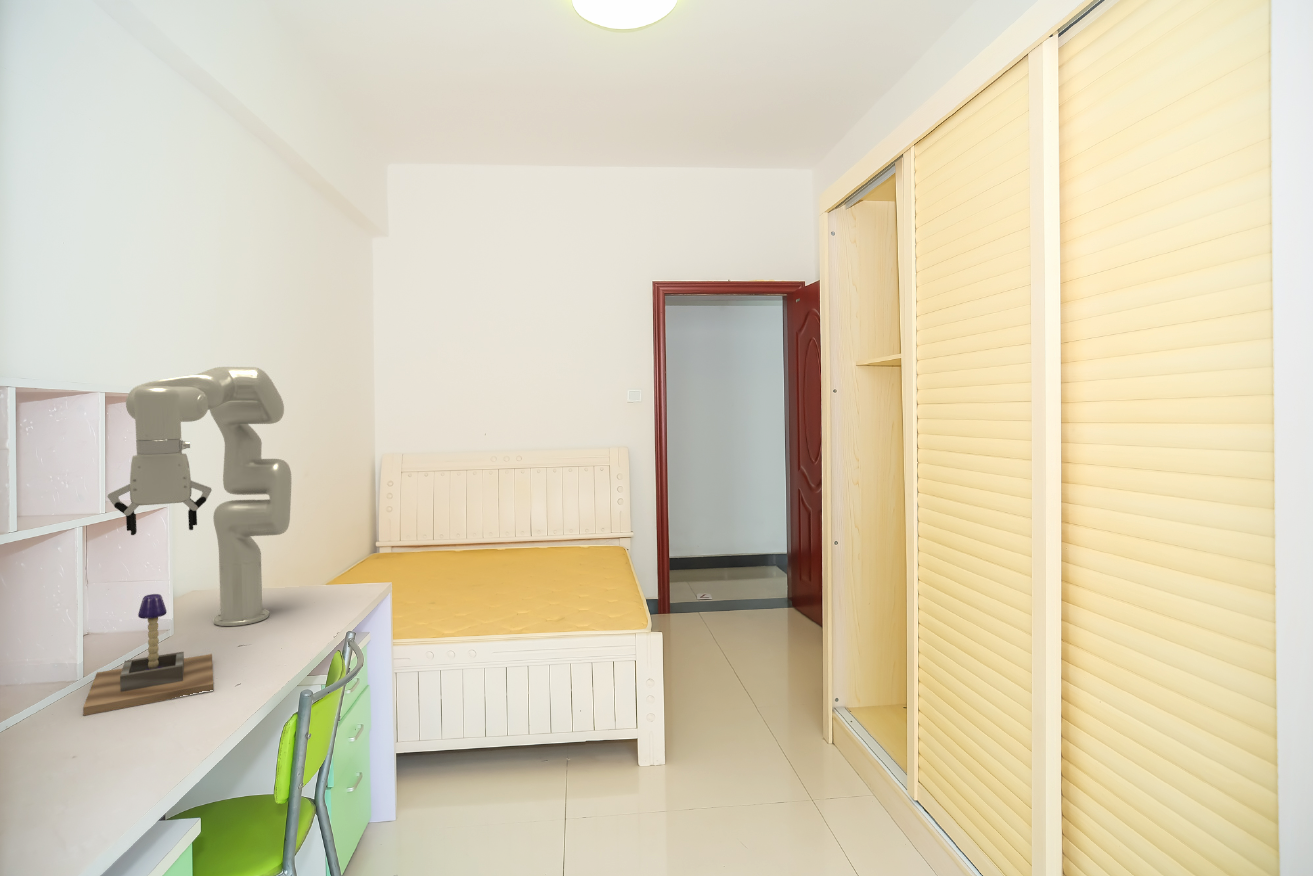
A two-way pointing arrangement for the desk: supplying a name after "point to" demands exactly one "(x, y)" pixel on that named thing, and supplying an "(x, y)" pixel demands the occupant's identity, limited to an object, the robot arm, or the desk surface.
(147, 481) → the robot arm
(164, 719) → the desk surface
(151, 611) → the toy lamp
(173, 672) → the socket board
